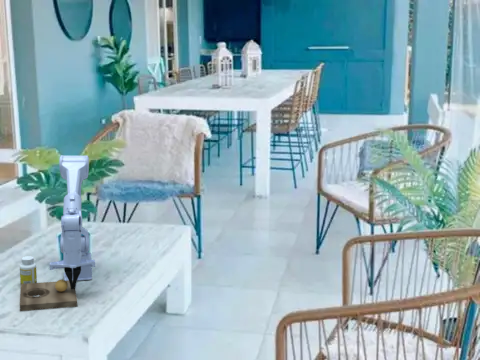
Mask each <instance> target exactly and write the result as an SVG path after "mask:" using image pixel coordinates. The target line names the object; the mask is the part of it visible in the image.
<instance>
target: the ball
mask: <svg viewBox="0 0 480 360" xmlns="http://www.w3.org/2000/svg"><path fill="white" fill-rule="evenodd" d="M55 282H56V284H55V288H56V290H58V291H60V292H63V291H65V290H66V289H67V287H68V284H67V282H66V281H65V280H64V279H59V280H56V281H55Z"/></svg>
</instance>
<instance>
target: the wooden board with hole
mask: <svg viewBox="0 0 480 360" xmlns="http://www.w3.org/2000/svg"><path fill="white" fill-rule="evenodd" d="M72 281H73V280H72ZM56 282H57V281H46V282H45V281H44V282H37V283H28V284H21V283H20V290H19V291H20V292H19V312H25V311H40V310H41V311H42V310H51V309H52V310H53V309H62V308H63V309H64V308H65V309H66V308H76V307H77V308H78V298H77V291H76V288H75V289H71V286H70V282H69V281H66V282H67V284H68V287H67V289H66V290H65V291H63V292H60V291H58V290H56V288H55V284H56Z"/></svg>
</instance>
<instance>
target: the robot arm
mask: <svg viewBox="0 0 480 360" xmlns="http://www.w3.org/2000/svg"><path fill="white" fill-rule="evenodd" d="M58 162H59V163H58V164H59V165H58V167H59V172H60V176H61V178H62V179H63V180H65V181H66V185H67V186H66V189H67V194H65V196H64V197H63V207H62V208H63V210H62V211H63V212H62V214H63V215H61V219H60V225H61V227H60V228H61V232H60V239H59V240H60V241H59V243H60V245H59V246H60V252H61V253H62V254H63V259H62V260H57V261H51V262H49V270H50V271H52V270H57V269H59V270H60V269H63V271H64V272H63V280H65V281H69V282H70V286H71V289H75V290H76V287H77V285H76V284H77V282H78V281H90V280H92V279H93V276H92V275H93V268H96V260H95V259H93V258H92V253H91V252H89V251H90V232H89V231H88V230H87V228H85V227H83V214H82V183H83V181H84V180H86V179H88V177H89V172H90V170H89V169H90V167H89V165H90V164H89V163H90V159H89V156H88V155H63V154H61V155H60V156H59V161H58ZM72 280H73V281H72Z"/></svg>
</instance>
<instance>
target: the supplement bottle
mask: <svg viewBox="0 0 480 360" xmlns="http://www.w3.org/2000/svg"><path fill="white" fill-rule="evenodd" d="M34 260H35V259H34V256H31V255H25V256H22V257H21V263H20V265H19V280H20V281H19V282H20V285H21V284H28V283H38V282H37V281H38V279H37V264H36V263H35V261H34Z"/></svg>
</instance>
